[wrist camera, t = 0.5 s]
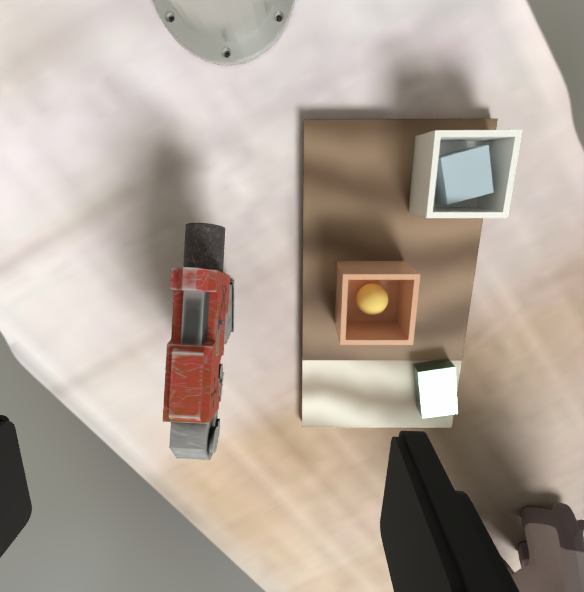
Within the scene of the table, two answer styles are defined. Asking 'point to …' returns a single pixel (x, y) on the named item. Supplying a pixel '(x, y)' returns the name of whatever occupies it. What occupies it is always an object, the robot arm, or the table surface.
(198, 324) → the toy gun
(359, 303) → the ball
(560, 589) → the toy
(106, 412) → the table surface
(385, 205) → the board
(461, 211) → the white open cubby box
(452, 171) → the block
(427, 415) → the tin
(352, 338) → the peach open cubby box
